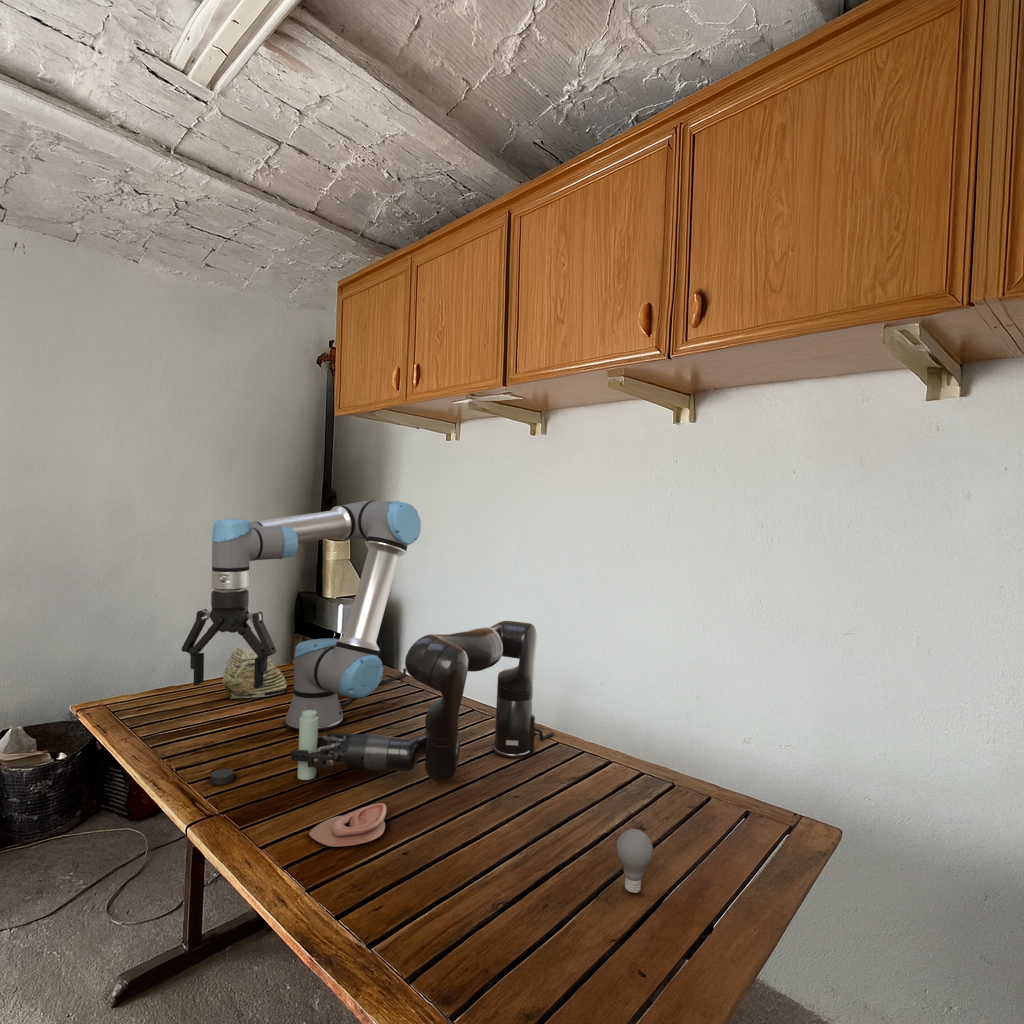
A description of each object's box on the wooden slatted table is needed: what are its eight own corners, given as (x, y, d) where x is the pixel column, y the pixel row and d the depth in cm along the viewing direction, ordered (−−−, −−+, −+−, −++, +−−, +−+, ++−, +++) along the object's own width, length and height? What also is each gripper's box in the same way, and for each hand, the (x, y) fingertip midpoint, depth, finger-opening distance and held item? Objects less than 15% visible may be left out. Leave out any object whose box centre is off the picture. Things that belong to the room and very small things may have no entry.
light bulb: (610, 879, 108) (613, 822, 108) (644, 879, 109) (647, 822, 109) (619, 902, 102) (622, 840, 102) (655, 901, 103) (658, 840, 103)
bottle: (305, 781, 140) (307, 716, 140) (293, 776, 143) (296, 712, 142) (319, 775, 144) (322, 711, 143) (308, 770, 146) (310, 707, 146)
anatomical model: (301, 820, 116) (331, 792, 127) (300, 842, 116) (330, 812, 127) (368, 831, 113) (393, 801, 124) (368, 853, 113) (392, 821, 124)
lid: (228, 773, 143) (229, 766, 143) (237, 780, 139) (237, 773, 139) (207, 779, 139) (207, 772, 139) (215, 787, 136) (215, 779, 136)
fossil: (218, 695, 195) (220, 647, 195) (278, 685, 208) (279, 640, 207) (228, 703, 189) (230, 653, 188) (289, 692, 201) (290, 645, 201)
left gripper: (164, 589, 136) (163, 687, 137) (278, 594, 134) (276, 693, 135) (184, 584, 143) (183, 677, 144) (292, 589, 142) (290, 682, 143)
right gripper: (379, 724, 150) (310, 720, 150) (362, 748, 135) (286, 743, 136) (377, 756, 150) (309, 751, 150) (360, 782, 135) (285, 778, 136)
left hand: (228, 685), depth 140 cm, fingers open, 13 cm apart
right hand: (298, 748), depth 143 cm, fingers open, 7 cm apart
